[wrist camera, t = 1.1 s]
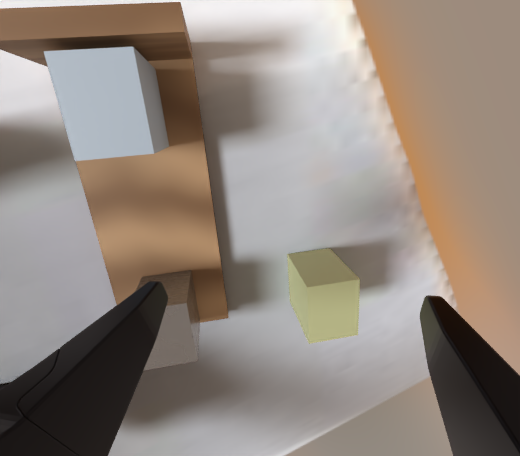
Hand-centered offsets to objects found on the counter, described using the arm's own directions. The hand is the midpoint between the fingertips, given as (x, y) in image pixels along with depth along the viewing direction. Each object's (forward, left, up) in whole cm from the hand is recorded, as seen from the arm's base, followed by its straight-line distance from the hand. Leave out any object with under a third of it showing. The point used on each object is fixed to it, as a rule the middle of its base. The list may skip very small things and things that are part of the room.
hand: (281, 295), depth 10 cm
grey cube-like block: (-8, +7, -14) cm, 18 cm away
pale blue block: (+7, +7, -14) cm, 17 cm away
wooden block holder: (0, +7, -15) cm, 17 cm away
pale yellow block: (-8, -6, -15) cm, 18 cm away
